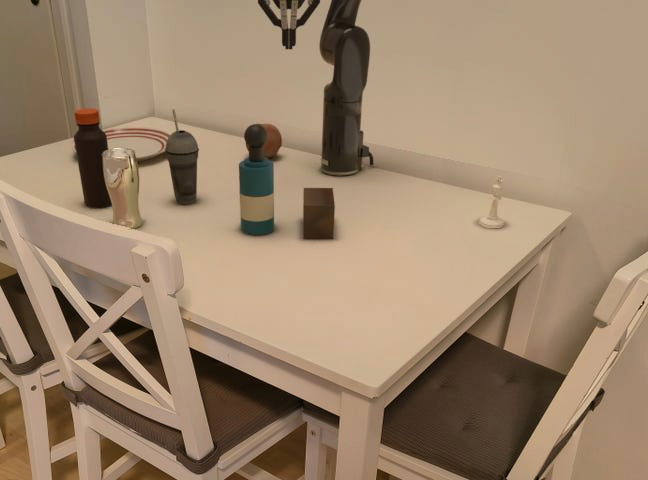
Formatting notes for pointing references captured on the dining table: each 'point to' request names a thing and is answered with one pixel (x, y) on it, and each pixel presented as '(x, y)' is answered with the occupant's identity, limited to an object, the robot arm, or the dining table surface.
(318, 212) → the walnut block
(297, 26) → the robot arm
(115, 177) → the beer glass
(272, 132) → the onion
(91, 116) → the vinegar
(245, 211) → the striped banded cylinder
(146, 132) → the dinner plate
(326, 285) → the dining table surface
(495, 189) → the chess piece
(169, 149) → the beverage cup
